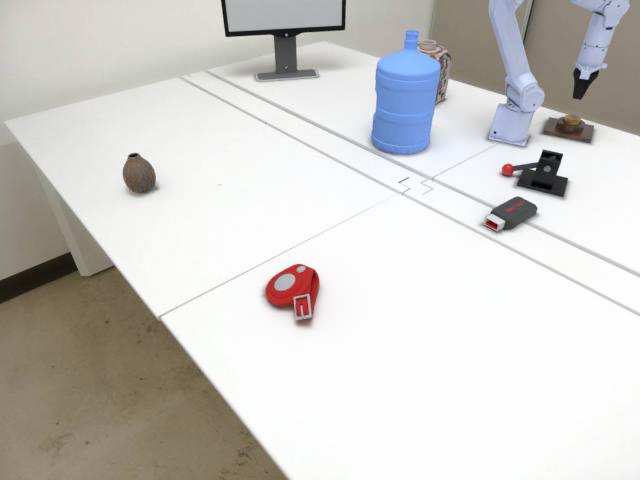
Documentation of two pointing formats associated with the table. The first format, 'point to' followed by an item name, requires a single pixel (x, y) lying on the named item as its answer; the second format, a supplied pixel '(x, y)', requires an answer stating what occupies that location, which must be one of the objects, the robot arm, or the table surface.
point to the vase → (138, 174)
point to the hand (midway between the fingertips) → (577, 98)
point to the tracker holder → (295, 289)
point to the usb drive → (510, 214)
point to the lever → (521, 166)
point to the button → (572, 119)
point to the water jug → (405, 99)
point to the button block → (569, 130)
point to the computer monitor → (283, 27)
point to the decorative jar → (444, 60)
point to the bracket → (545, 175)
